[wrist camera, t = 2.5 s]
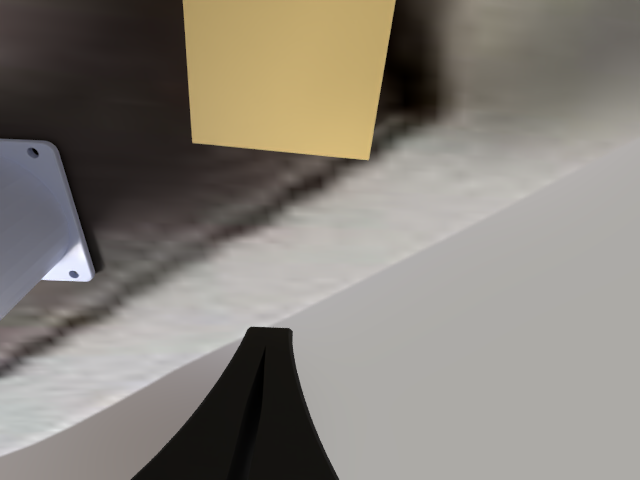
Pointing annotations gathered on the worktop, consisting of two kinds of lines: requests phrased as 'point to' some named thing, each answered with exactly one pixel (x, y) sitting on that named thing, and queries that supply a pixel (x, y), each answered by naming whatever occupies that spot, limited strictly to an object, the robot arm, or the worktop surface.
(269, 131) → the block
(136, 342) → the worktop surface
